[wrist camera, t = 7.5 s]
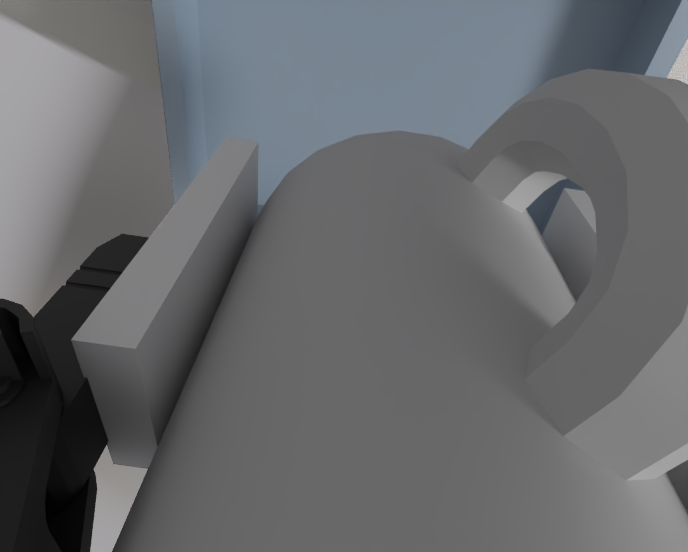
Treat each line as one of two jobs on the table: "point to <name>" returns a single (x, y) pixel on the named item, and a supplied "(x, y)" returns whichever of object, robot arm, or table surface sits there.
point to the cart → (382, 70)
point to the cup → (447, 348)
